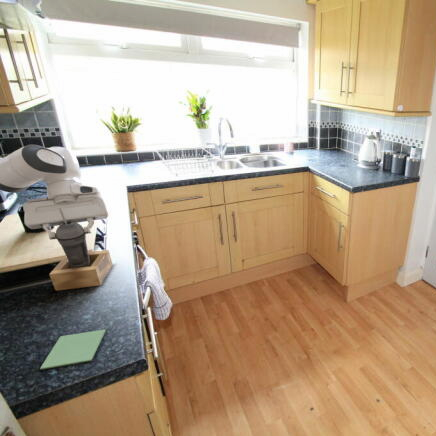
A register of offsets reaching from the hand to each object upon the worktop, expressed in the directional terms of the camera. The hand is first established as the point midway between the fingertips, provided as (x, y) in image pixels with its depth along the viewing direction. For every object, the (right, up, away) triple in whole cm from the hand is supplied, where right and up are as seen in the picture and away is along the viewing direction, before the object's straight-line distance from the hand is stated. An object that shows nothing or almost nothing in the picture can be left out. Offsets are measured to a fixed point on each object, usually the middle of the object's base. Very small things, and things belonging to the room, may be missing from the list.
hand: (71, 235), depth 97 cm
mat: (+17, -26, -20) cm, 37 cm away
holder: (-1, -14, +7) cm, 15 cm away
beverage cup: (-1, -10, +5) cm, 12 cm away
